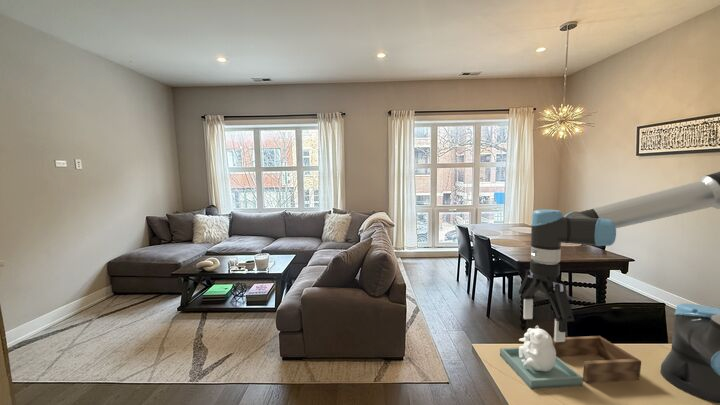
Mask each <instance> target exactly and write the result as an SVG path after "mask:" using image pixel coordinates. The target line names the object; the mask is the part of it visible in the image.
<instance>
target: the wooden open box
mask: <svg viewBox="0 0 720 405" xmlns="http://www.w3.org/2000/svg"><path fill="white" fill-rule="evenodd" d="M552 341H553V346H554V348H555V350H556V356H557V357H558V358H561V357H563V358H564V357H581V356H584V357H585V356H599V357H601V358H602V359H601V360H584V361H583V371H582V377H583V383H585V384H596V383H598V384H599V383H613V382H614V383H615V382H616V383H617V382H633V381H634V382H635V381H640V379H641V378H640V377H641V369H642V368H641V366H642V360H640V359H639V358H637V357H635V356H634V355H632V354H630V353H629V352H628V351H625V350H624V349H622V348H621V347H619V346H617V345H616V344H614V343H612V342H611V341H609V340H607V339H606V338H604V337H602V336H601V335H589V336H588V335H587V336H567V337H566V336H565V342H555V341H554V337H552Z"/></svg>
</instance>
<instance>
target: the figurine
mask: <svg viewBox="0 0 720 405" xmlns="http://www.w3.org/2000/svg"><path fill="white" fill-rule="evenodd" d="M518 341H519V342H523V345H520V346H518V347H519V358H520V360H521V361H522V364H523V366H524V367H525V368H527V367H530V366H531V367H532V368H533V369H534V370H536V371H544V372H546V371H549V370H551V369H552V368H553V366H554V365H555V364H556V362H555V361H556V350H555V348H554V346H553V337H552V336H551V335H550V334H549V333H548V332H547V331H546V330H545V329H543V328H540V326H539V325H536V326H535V327H534V328H533V327H532V328H531V327H529V328H528V329H527V330H526V332H525V333H524V334H523V337H522V338H519V339H518ZM524 356H525V358H526V361H525V359H524V360H523V357H524Z"/></svg>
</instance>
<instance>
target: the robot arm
mask: <svg viewBox="0 0 720 405" xmlns="http://www.w3.org/2000/svg"><path fill="white" fill-rule="evenodd" d="M709 208H713V209H716V210H720V171H716V172H713V173H710V174H706V175H703V176H700V178H699V179H698V180H697V181H695V182H690V183H687V184H686V183H685V184H682V185H678V186H675V187H672V188H667V189H662V190H660V191H656V192H652V193H648V194H644V195H640V196H637V197H633V198H628V199H624V200H620V201H617V202H613V203H609V204H606V205H601V206H598V207H594V208H591V209H586V210H580V211H571V212H568V213H566V214H565V215H563V212H562V211H561V210H557V209H547V208H546V209H543V208H542V209H535V210H534V211H533V212H532V216H531V225H530V227H531V230H530V233H531V234H530V236H531V237H530V242H531V243H530V245H531V247H530V259H531V260H530V262H529V264H530V265H529V269H526V270H525V276H524V278H523V281H522V283H521V285H520V287H519V290H518V294H519V295H521V297H522V303H523V304H522V305H523V306H522V307H523V312H522V313H523V315H522V316H523V317H522V319H523V320H533V317H534V316H533V314H534V312H533V309H534V299H533V298H534V297H533V296H534V295H535V294H536V293H538V291H541V293H543V294H544V295H545V297H547V299H548V300H549V302H550V305H551V307H552V311H553V312H554V315H555V316H556V318H554V330H553V331H554V332H553V338H554V341H555V342H565V337H566V333H567V331H568V327H567V326H568V322H574V321H575V318H574V313H573V310H572V307H571V304H570V301H569V297H568V295H567V285H566V284H565V283H559V282H557V278H558V277H559V276H560V274H561V272H560V270H561V264H560V262H561V254H562V253H561V251H562V247H561V246H562V245H561V244H573V245H584V246H585V245H587V246H596V247H600V246H601V247H602V246H603V247H606V246H607V247H610V246H612V245H613V244H614V243H615V242H616V239H617V229H620V228H623V227H628V226H632V225H633V226H634V225H637V224H642V223H646V222H651V221H655V220H659V219H664V218H669V217H672V216H677V215H682V214H687V213H690V212H691V213H692V212H695V211H700V210H703V209H709ZM673 314H674V317H673V318H674V320H673V328H672V329H673V330H672V338H671V339H672V341H671V349H670V351H669V352H668V354H667V355H666V357H664V359H663V361H662V363H661V364H660V372H659V373H660V375H661V376H662V377H663V379H665V381H667V382H669V383H670V384H671V385H673V386H674V387H676V388H677V389H679V390H682V391H684V392H686V393H688V394H690V395H693V396H696V397H698V398H701V399H702V400H707V401H710V402H713V403H718V404H720V308H718V307H712V306H708V305H701V304H695V303H694V304H693V303H679V304H678V305H676V307H675V312H674V313H673Z"/></svg>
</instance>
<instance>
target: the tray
mask: <svg viewBox="0 0 720 405" xmlns="http://www.w3.org/2000/svg"><path fill="white" fill-rule="evenodd" d="M519 347H520V346H518V347H501V348H499V357H501V358H502V359H503V361H505V363H506V364H507V365H508V367H510V368H511V369H512V370H513V371H514V373H515V374H517V376H518V377H519V378H520V379H521V380H522V381H523V382H524V384H526V386H528V388H529V389H530V390H537V389H555V388H569V387H572V388H573V387H582V386H583V383H584V381H583V376H581V375H580V374H579V373H577V372H576V370H574V369H573V368H571V366H569V365H568V364H566V362H564V361H563V360H562V359H561V358H560V357H557V356H556V361H555V362H556V364H555V365H554V366H553V368H552V369H551V370H549V371H546V372H544V371H536V370H534V369H533V368H532V367H531V366H530V367H527V368H525V367H524V366H523V364H522V361H521V360H520V358H519ZM524 359H525V361H526V358H525V356H524V357H523V360H524Z"/></svg>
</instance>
